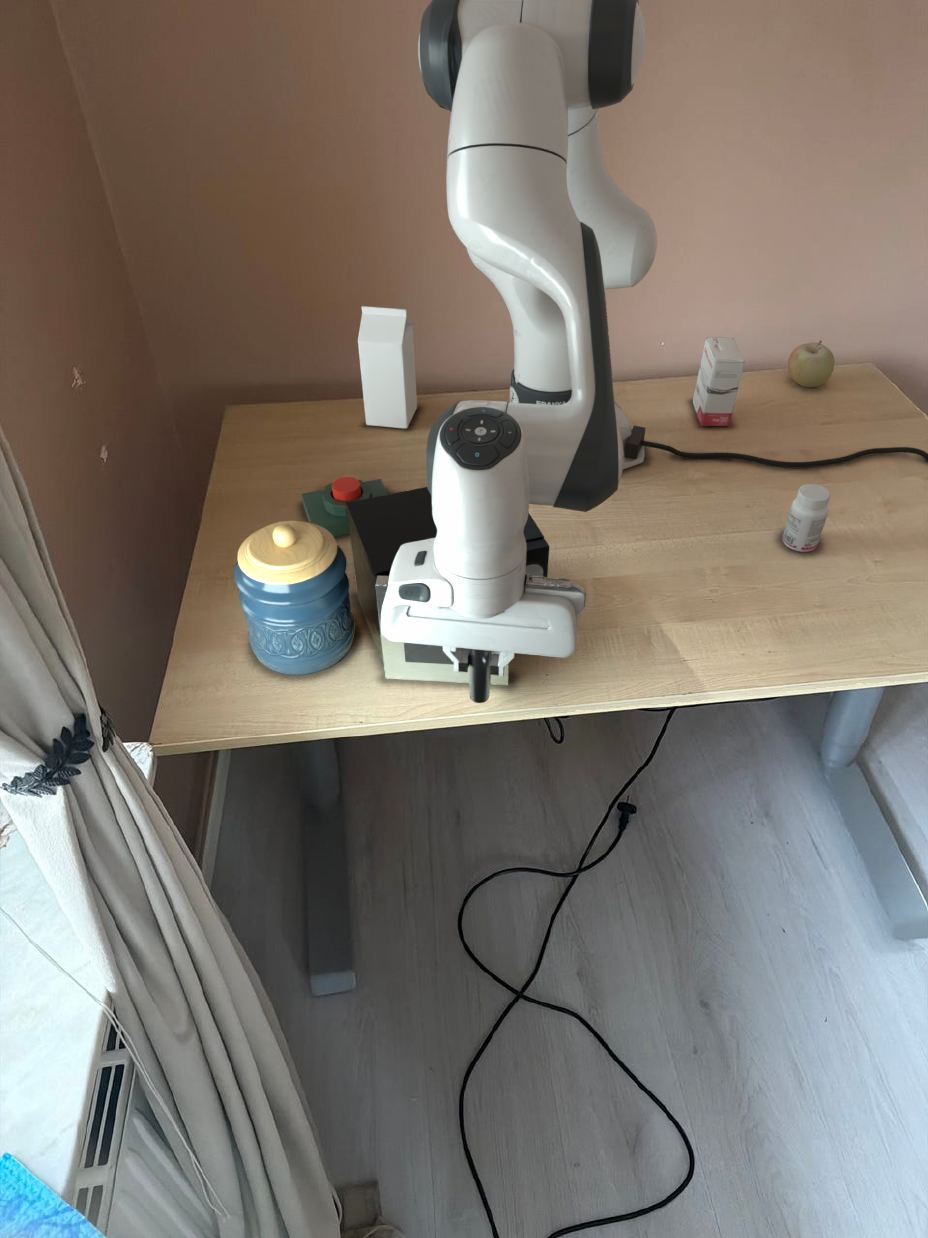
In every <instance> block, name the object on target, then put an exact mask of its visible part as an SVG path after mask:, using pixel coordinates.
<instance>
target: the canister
mask: <svg viewBox="0 0 928 1238" xmlns="http://www.w3.org/2000/svg"><path fill="white" fill-rule="evenodd" d="M236 558H237V561H236V563H235V566H234V569H233V579H234V580H233V581H234V583H235V585H236V587H237V589H238V590H239V593H238V597H239V603H240V606H241V608H242V610H243V614H244V618H245V622H246V626H247V636H248V637H247V638H248V641H249V645H250V647H251V650H252V652H253V653H254V654H255V657H256V658H257V659H258V661H259V662H260V663H261V664H262V665H263V666H264V667H266V668H267V669H269V670H271V671H273V672H276V673H281V674H284V675H294V676H295V675H297V676H299V675H309V674H313V673H317V672H320V671H323V670H326V669H328V668H330V667H332V666H334V665H335V664H337V663H338V662H339V661H340V660H342V659H343V658H344V657H345V656H346V655H347V653H349V651H350V649H351V647H352V646H353V643H354V638H355V636H354V635H355V632H356V623H355V616H354V614H353V611H352V604H351V597H350V596H351V595H350V580H349V577H348V575H347V573H346V571H347V568H348V567H347V565H348V563H347V557H346V554H345V552H344V550H343V549H342V548H341V546H339V544H338V543H337V541H336V537H334V536H333V535H332V534H331V533H330V532H329V531H328V530H326V529H325V528H323V527H321V526H319V525H316V524H313V523H309V521H301V520H284V521H277V522H273V523H271V524H268V525H266V526H264V527H262V528H260V529H257V530H256V531H254V532H253V533H251V534H250V535H249V536H248V537H246V538H245V540H244V541H243V542H242V543H241V544H240V547H239V548H238V550H237V557H236Z"/></svg>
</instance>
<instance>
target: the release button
mask: <svg viewBox="0 0 928 1238" xmlns="http://www.w3.org/2000/svg"><path fill="white" fill-rule="evenodd" d="M357 479H358V478H356V477H353V476H342V477H338V478H336V479H334V481H332V482H331V483H332V491H333V497H334V499H335V500H337V501H342V502H348V501H354V500H356V499H358V498H359V497H360V495H361V488H360V482H359V480H360V479H358V480H357Z"/></svg>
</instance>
